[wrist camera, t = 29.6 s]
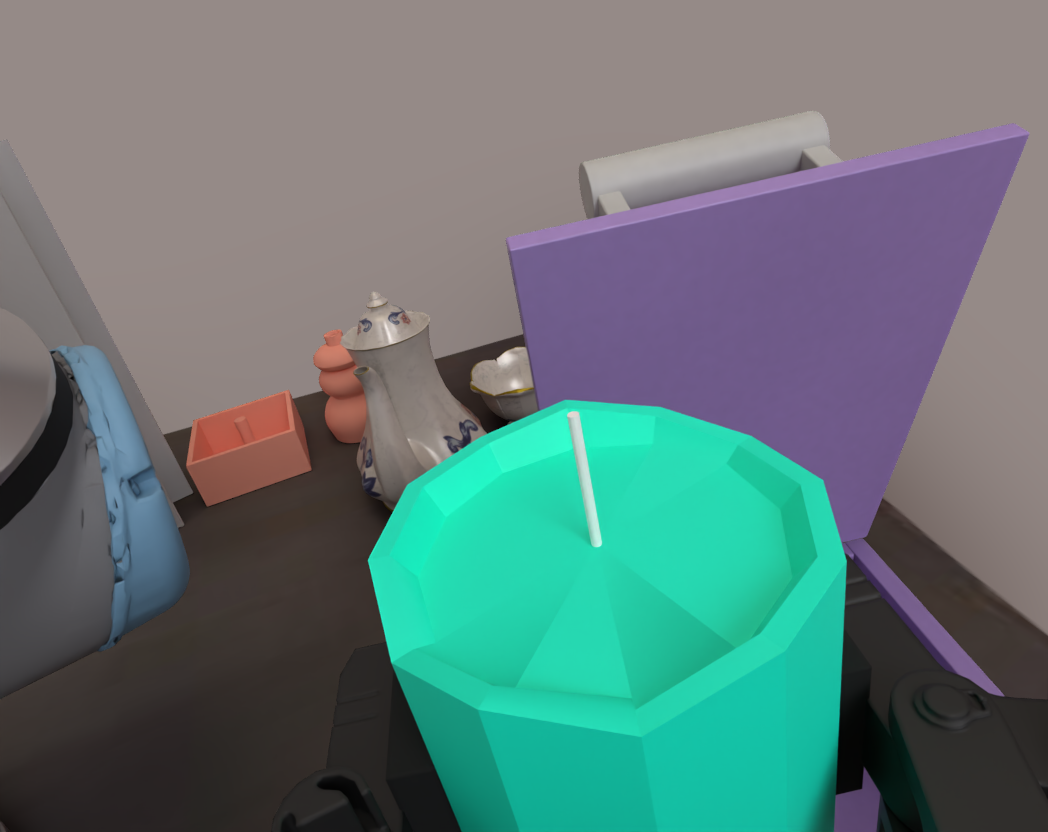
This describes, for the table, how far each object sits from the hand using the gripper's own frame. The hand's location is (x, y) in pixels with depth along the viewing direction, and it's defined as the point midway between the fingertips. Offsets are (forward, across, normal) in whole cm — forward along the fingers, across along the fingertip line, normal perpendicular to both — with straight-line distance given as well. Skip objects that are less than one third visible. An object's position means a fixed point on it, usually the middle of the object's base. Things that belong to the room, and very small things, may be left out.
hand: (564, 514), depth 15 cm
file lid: (+6, +6, -3) cm, 9 cm away
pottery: (+45, -21, -20) cm, 53 cm away
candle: (-5, 0, -7) cm, 9 cm away
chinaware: (+33, -5, -20) cm, 39 cm away
